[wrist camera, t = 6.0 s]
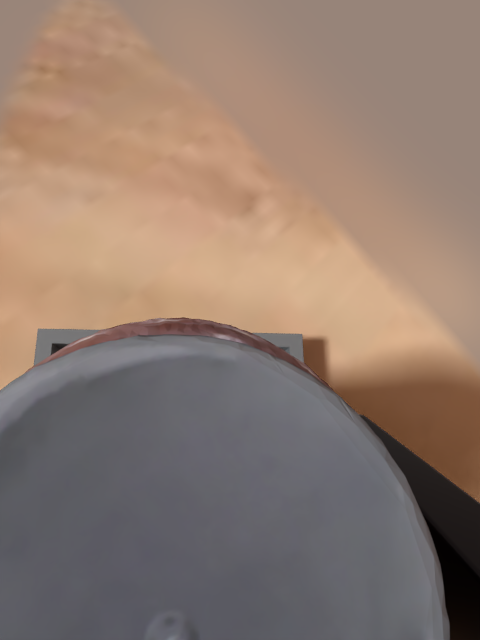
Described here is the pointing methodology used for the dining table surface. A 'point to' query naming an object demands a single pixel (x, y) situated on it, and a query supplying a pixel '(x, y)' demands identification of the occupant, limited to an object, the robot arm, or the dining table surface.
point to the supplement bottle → (202, 499)
